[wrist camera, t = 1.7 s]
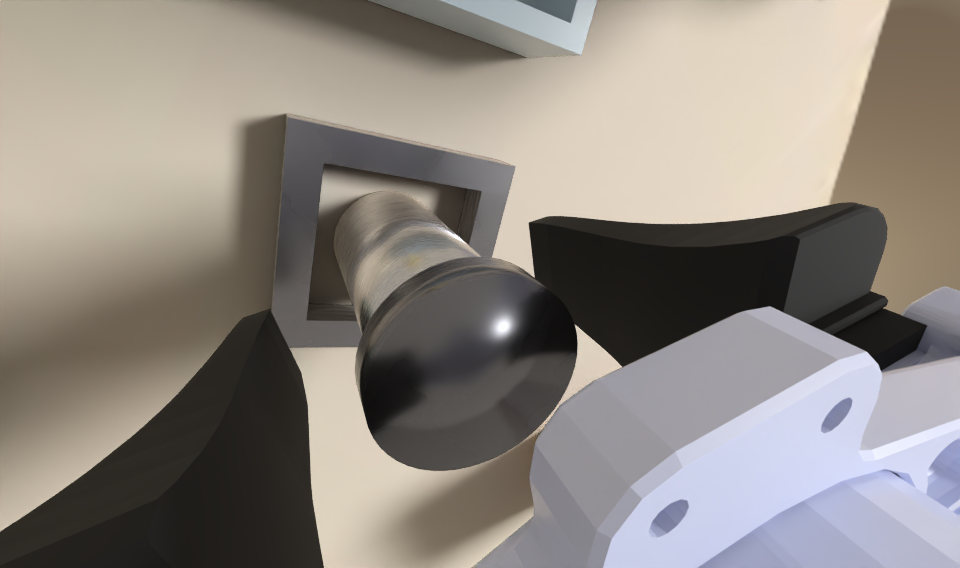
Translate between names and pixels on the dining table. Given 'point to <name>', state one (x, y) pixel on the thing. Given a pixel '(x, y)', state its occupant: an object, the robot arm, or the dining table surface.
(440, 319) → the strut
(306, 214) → the collar
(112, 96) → the dining table surface
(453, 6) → the bin
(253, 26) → the dining table surface
